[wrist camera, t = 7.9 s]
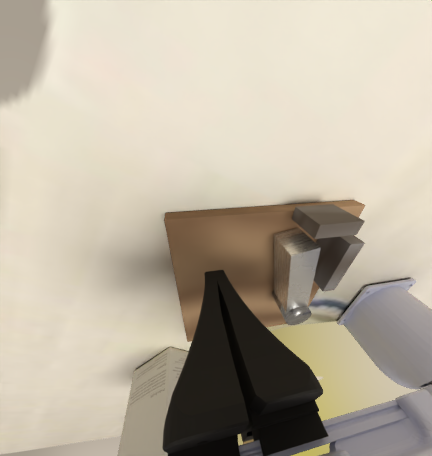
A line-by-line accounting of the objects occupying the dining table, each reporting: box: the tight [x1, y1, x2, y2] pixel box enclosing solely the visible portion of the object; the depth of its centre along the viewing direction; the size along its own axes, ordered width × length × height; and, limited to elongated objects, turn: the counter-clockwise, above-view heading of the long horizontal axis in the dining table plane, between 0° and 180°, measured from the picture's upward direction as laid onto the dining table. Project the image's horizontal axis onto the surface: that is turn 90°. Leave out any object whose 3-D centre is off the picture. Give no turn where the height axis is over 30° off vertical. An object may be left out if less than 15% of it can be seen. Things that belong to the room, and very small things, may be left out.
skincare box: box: [118, 347, 188, 456], centre depth 17 cm, size 8×7×16 cm
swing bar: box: [272, 228, 321, 325], centre depth 14 cm, size 9×2×3 cm, turn 12°
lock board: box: [164, 200, 365, 342], centre depth 15 cm, size 17×15×4 cm
